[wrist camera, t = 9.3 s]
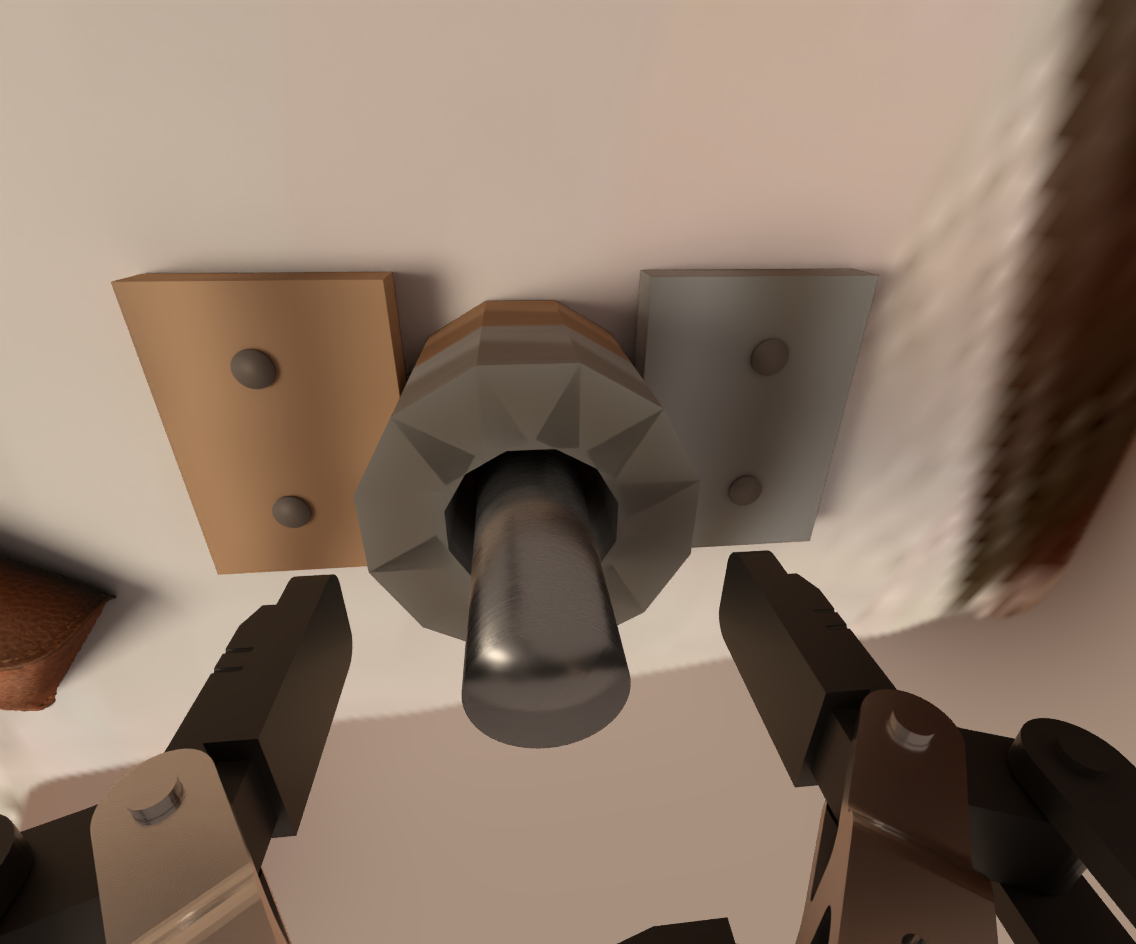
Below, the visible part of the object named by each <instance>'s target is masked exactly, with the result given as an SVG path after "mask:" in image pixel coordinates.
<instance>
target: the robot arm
mask: <svg viewBox="0 0 1136 944" xmlns="http://www.w3.org/2000/svg"><path fill="white" fill-rule="evenodd" d="M719 622H720V628H721V633H722V636H723V639H724V641H725V643H726V645H727V647H728V649H729V651H730V653H731V656H732V658H733V660H734V662H735V664H736V666H737V668H738V670H739V672H740V674H741V676H742V678H743V681H744V683H745V685H746V687H747V689H748V691H749V693H750V695H751V697H752V699H753V701H754V703H755V705H756V708H757V710H758V712H759V714H760V716H761V718H762V720H763V722H764V724H765V726H766V728H767V730H768V732H769V735H770V737H771V739H772V741H773V743H774V745H775V747H776V749H777V751H778V753H779V755H780V757H781V760H782V762H783V764H784V766H785V768H786V770H787V772H788V774H789V776H790V778H791V780H792V782H793V785H794V786H795V787H804V786H814V785H819V787H820V789H821V791H822V793H823V795H824V797H825V799H826V800H825V803H824V805H823V809H822V813H821V818H820V824H819V830H818V835H817V841H816V847H815V852H814V857H813V863H812V869H811V874H810V880H809V886H808V891H807V897H806V903H805V908H804V913H803V917H802V922H801V925H800V930H799V933H798V936H797V940H796V943H795V944H998V936H997V924H996V915H997V917H998V918H999V920H1000V921H1001V923H1002V924H1003V926H1004V928H1005V929H1006V931H1007V932H1008V934H1009V936H1010V937H1011V939H1012V940H1013V942H1014V944H1136V942H1135V941H1134V940H1133V939H1132V937H1131V936H1130V935H1129V934H1128V932H1127V931H1126V930H1125V929H1124V927H1123V926H1122V925H1121V923H1120V922H1119V921H1118V920H1117V918H1116V917H1115V916H1114V915H1113V913H1112V912H1111V911H1110V910H1109V908H1108V907H1107V906H1106V905H1105V903H1104V902H1103V901H1102V899H1101V898H1100V897H1099V896H1098V894H1097V893H1096V892H1095V891H1094V889H1093V888H1092V887H1091V886H1090V884H1089V883H1088V882H1087V880H1086V879H1085V878H1084V877H1083V875H1082V873H1083V872H1084V871H1085V870H1086V869H1088V870H1089V871H1090V872H1091V874H1092V875H1093V876H1094V877H1095V879H1096V880H1097V881H1098V882H1099V883H1100V885H1101V886H1102V887H1103V888H1104V890H1105V891H1106V892H1107V893H1108V895H1109V896H1110V897H1111V898H1112V900H1113V901H1114V902H1115V903H1116V905H1117V906H1118V907H1119V908H1120V910H1121V911H1122V912H1123V913H1124V915H1125V916H1126V917H1127V918H1128V919H1129V921H1130V922H1131V923H1132V924H1133V926H1134V927H1135V928H1136V768H1135V766H1134V765H1133V764H1131V763H1130V762H1129V761H1128V760H1127V759H1126V758H1125V757H1124V756H1123V755H1122V754H1121V753H1120V752H1119V751H1117V750H1116V749H1115V748H1114V747H1112V746H1111V745H1110V744H1108V743H1107V742H1105V741H1104V740H1102V739H1100V738H1099V737H1098V736H1096V735H1094V734H1092V733H1090V732H1089V731H1087V730H1085V729H1082V728H1080V727H1078V726H1075V725H1073V724H1070V723H1067V722H1064V721H1060V720H1056V719H1050V718H1038V719H1033V720H1030V721H1028V722H1026V723H1025V724H1024V725H1023V727H1022V728H1021V730H1020V732H1019V733H1018V735H1017V737H1016V739H1013V738H1008V737H1003V736H998V735H993V734H988V733H983V732H977V731H972V730H968V729H963V728H959V727H957V726H956V725H955V724H954V723H953V722H952V720H951V719H950V718H949V717H948V716H947V715H946V714H945V713H944V712H942V711H941V710H940V709H939V708H937V707H936V706H934V705H933V704H931V703H930V702H928V701H926V700H924V699H922V698H921V697H918V696H916V695H914V694H911V693H908V692H904V691H900V690H897V689H896V688H895V687H894V685H893V684H892V683H891V681H890V680H889V679H888V677H887V676H886V675H885V674H884V672H883V671H882V670H881V668H880V667H879V666H878V664H877V663H876V662H875V661H874V659H873V658H872V657H871V655H870V654H869V653H868V652H867V650H866V649H865V648H864V646H863V645H862V644H861V642H860V641H859V640H858V639H857V637H856V636H855V635H854V633H853V632H852V631H851V630H850V629H847V626H846V625H847V624H846V623H845V622H844V620H843V619H842V618H841V617H840V615H839V614H838V613H837V612H834V608H833V606H832V605H831V604H830V602H829V601H828V600H827V599H826V597H825V596H824V595H823V593H822V592H821V591H820V589H818V588H817V587H815V586H814V585H813V584H811V583H810V582H808V581H807V580H806V579H804V578H803V577H801V576H800V575H799V574H797V573H795V574H787V572H786V571H785V570H784V568H783V567H782V565H781V564H780V563H779V561H778V560H777V558H776V557H775V556H774V554H773V553H772V552H770V551H749V552H733V553H732V554H731V555H730V556H729V559H728V563H727V569H726V574H725V580H724V585H723V591H722V597H721V602H720V608H719ZM351 657H352V634H351V629H350V625H349V621H348V616H347V612H346V608H345V604H344V600H343V595H342V591H341V587H340V583H339V580H338V578H337V576H336V575H334V574H332V575H315V576H297V577H293V578H291V579H290V581H289V582H288V584H287V586H286V588H285V590H284V592H283V594H282V595H281V597H280V599H279V601H278V603H277V605H263V606H261V607H260V608H259V609H258V610H257V611H256V612H255V613H254V614H252V615H251V616H250V617H249V618H248V619H247V620H246V621H244V622H243V623H242V624H241V625H240V626H239V627H238V629H237V631H236V632H235V634H234V636H233V637H232V639H231V641H230V643H229V644H228V646H227V648H226V653H225V654H222V656H221V658H220V659H219V661H218V663H217V664H216V666H215V668H214V673H212V674H211V675H210V676H209V678H208V680H207V681H206V683H205V685H204V686H203V688H202V690H201V692H200V693H199V695H198V697H197V698H196V700H195V702H194V703H193V705H192V707H191V708H190V710H189V712H188V713H187V715H186V717H185V719H184V720H183V722H182V724H181V725H180V727H179V729H178V730H177V732H176V734H175V735H174V737H173V739H172V741H171V742H170V744H169V746H168V747H167V749H166V750H165V752H164V753H162V754H159V755H157V756H155V757H152V758H150V759H148V760H146V761H144V762H143V763H141V764H139V765H137V766H136V767H134V768H133V769H132V770H130V771H129V772H127V773H126V774H125V775H124V776H123V777H121V778H120V779H119V780H118V781H117V782H116V783H115V784H114V785H113V786H112V787H111V788H110V789H109V790H108V791H107V793H106V794H105V795H104V796H103V798H102V799H101V801H100V802H99V804H97V805H95V806H92V807H90V808H87V809H85V810H82V811H79V812H76V813H73V814H70V815H67V816H65V817H62V818H59V819H56V820H53V821H51V822H48V823H45V824H42V825H39V826H36V827H33V828H31V829H28V830H25V831H22V832H20V831H19V830H18V829H17V828H16V826H15V825H14V824H13V823H12V821H11V820H9V819H8V818H7V817H6V816H3V815H1V814H0V944H292V942H291V940H290V937H289V935H288V932H287V929H286V927H285V924H284V922H283V919H282V916H281V914H280V911H279V908H278V906H277V903H276V901H275V898H274V896H273V893H272V890H271V888H270V885H269V883H268V880H267V877H266V875H265V872H264V870H263V867H262V862H263V859H264V857H265V854H266V851H267V848H268V845H269V842H270V840H271V838H277V837H287V836H296V835H297V831H298V828H299V825H300V822H301V819H302V816H303V812H304V809H305V806H306V803H307V800H308V796H309V793H310V790H311V787H312V784H313V781H314V777H315V774H316V771H317V768H318V765H319V761H320V759H321V755H322V752H323V749H324V746H325V743H326V740H327V736H328V733H329V730H330V727H331V724H332V721H333V717H334V714H335V711H336V708H337V705H338V702H339V698H340V695H341V692H342V689H343V686H344V683H345V679H346V676H347V673H348V670H349V667H350V663H351ZM618 944H736V943H735V941H734V938H733V934H732V931H731V927H730V924H729V921H728V918H727V917H726V918H719V919H710V920H702V921H694V922H686V923H678V924H669V925H661V926H653V927H651V928H649V929H647V930H645V931H643V932H641V933H639V934H637V935H635V936H632V937H630V938H628V939H626V940H624V941H622V942H620V943H618Z"/></svg>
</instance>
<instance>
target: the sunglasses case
mask: <svg viewBox="0 0 1136 944" xmlns="http://www.w3.org/2000/svg"><path fill="white" fill-rule="evenodd" d="M114 598H116V596H115V597H109V596H106V595H103V594H102V593H101V592H100V591H99V590H98V589H96V588H94V587H91V586H89V585H86V584H84V583H81V582H79V581H76V580H72V579H68V578H65V577H61V576H58V575H56V574H53V573H51V572H49V571H46V570H43V569H39V568H36V567H33V566H30V565H26V564H23V563H19V562H16V561H12V560H9V559H6V558H4V557H1V556H0V709H2V710H15V711H17V710H20V711H39V710H43V709H45V708H47V707H48V706H49V705H51V704H52V703H54V702H55V700H56V699H55V695H56V694H57V692H56V691H57V687H58V686H59V684H60V682H61V681H62V679H63V677H64V676H65V674H66V673H67V671H68V670H69V667H70V666H71V663H72V662H73V661H74V659H75V657H76V655H77V653H78V652H79V651H80V649H81V646H82V644H83V643H84V642H85V639H86V638H87V636H88V634H89V633H90V632H91V629H92V627H93V626H94V625H95V622H96V619H97V618H98V617H99V616H100V614H101V612H102V609H103V607H104V605H105V603H106V602H108V601H109V600H111V599H114Z"/></svg>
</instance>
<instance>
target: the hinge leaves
mask: <svg viewBox="0 0 1136 944" xmlns="http://www.w3.org/2000/svg"><path fill="white" fill-rule="evenodd" d="M878 277H879V275H875V274H871V273H867V272H863V271H859V270H855V269H733V270H641V271H640V286H639V301H638V316H637V331H636V347H635V362H634V366H633V364H632V363H631V362H630V360H629V359H628V357H627V356H626V354H625V353H624V352H623V350H622V349H621V347H620V346H619V345H618V343H617V342H616V340H615V339H614V337H613V336H612V335H611V333H610V332H608V331H606V330H605V329H603V328H601V327H599V326H598V325H596V324H594V323H593V322H591V321H589V320H587V319H586V318H584V317H582V316H581V315H579V314H577V313H575V312H574V311H572V310H570V309H569V308H567V307H565V306H563V305H562V304H560V303H558V302H557V301H555V300H512V301H485V302H483V303H481V304H480V305H478V306H477V307H475V308H473V309H472V310H470V311H469V312H467V313H465V314H464V315H462V316H461V317H459V318H457V319H456V320H454V321H452V322H451V323H449V324H448V325H446V326H444V327H443V328H441V329H440V330H438V331H436V332H435V333H433V334H432V335H430V336H429V337H428V339H427V341H426V344H425V346H424V348H423V350H422V352H421V354H420V356H419V358H418V360H417V362H416V365H415V367H414V369H413V371H412V373H411V375H410V377H409V379H408V381H407V378H406V370H405V363H404V356H403V348H402V341H401V333H400V326H399V319H398V311H397V304H396V296H395V289H394V282H393V274H392V272H303V273H160V274H139V275H135V276H132V277H128V278H124V279H120V280H116V281H112V282H111V284H112V286H113V289H114V292H115V295H116V297H117V300H118V303H119V306H120V308H121V311H122V314H123V316H124V319H125V322H126V325H127V327H128V330H129V333H130V336H131V338H132V341H133V344H134V346H135V349H136V352H137V355H138V357H139V360H140V363H141V366H142V368H143V371H144V374H145V376H146V379H147V382H148V385H149V387H150V390H151V393H152V396H153V398H154V401H155V404H156V406H157V409H158V412H159V415H160V417H161V420H162V423H163V426H164V428H165V431H166V434H167V436H168V439H169V442H170V445H171V447H172V450H173V453H174V456H175V458H176V461H177V464H178V467H179V469H180V472H181V475H182V477H183V480H184V483H185V486H186V488H187V491H188V494H189V497H190V499H191V502H192V505H193V507H194V510H195V513H196V516H197V518H198V521H199V524H200V527H201V529H202V532H203V535H204V537H205V540H206V543H207V546H208V548H209V551H210V554H211V557H212V559H213V562H214V565H215V567H216V570H217V573H218V575H219V574H236V573H254V572H271V571H289V570H307V569H324V568H342V567H360V566H368V571H369V573H370V574H371V575H372V576H373V577H374V578H375V579H376V580H377V581H378V582H379V583H380V584H381V585H382V586H383V587H384V588H385V589H386V590H387V591H388V592H389V593H390V594H391V595H392V596H393V597H394V598H395V599H396V600H397V601H398V602H399V603H400V604H401V605H402V606H403V607H404V608H405V609H406V610H407V611H408V612H409V613H410V615H411V616H412V617H413V618H414V619H415V620H416V621H417V622H418V623H419V624H420V625H421V626H422V627H424V628H427V629H430V630H433V631H436V632H439V633H442V634H445V635H448V636H451V637H454V638H457V639H460V640H463V641H466V633H467V621H468V608H469V596H470V584H471V571H472V559H473V547H474V534H475V522H476V509H477V497H478V485H479V472H480V466H481V465H482V464H484V463H486V462H488V461H489V460H491V459H493V458H495V457H496V456H498V455H500V454H502V453H503V452H505V451H516V450H542V449H557V450H559V451H561V452H563V453H565V454H567V455H569V456H571V457H573V458H574V459H575V463H576V467H577V471H578V475H579V478H580V482H581V486H582V490H583V494H584V498H585V502H586V506H587V510H588V514H589V517H590V521H591V525H592V529H593V533H594V537H595V541H596V545H597V549H598V553H599V556H600V560H601V564H602V568H603V572H604V576H605V580H606V584H607V588H608V592H609V595H610V599H611V603H612V607H613V611H614V615H615V619H616V623H617V625H619V624H621V623H623V622H625V621H627V620H629V619H631V618H633V617H635V616H637V615H639V614H641V613H643V612H645V610H646V609H647V608H648V607H649V605H650V604H651V603H652V602H653V600H654V599H655V598H656V597H657V595H658V594H659V593H660V592H661V590H662V589H663V588H664V587H665V585H666V584H667V583H668V582H669V580H670V579H671V578H672V577H673V575H674V574H675V573H676V572H677V570H678V569H679V568H680V567H681V565H682V564H683V563H684V562H685V560H686V559H687V558H688V557H689V555H690V554H691V548H695V547H713V546H730V545H748V544H765V543H783V542H801V541H810V538H811V534H812V531H813V527H814V523H815V519H816V515H817V511H818V508H819V504H820V500H821V496H822V492H823V488H824V485H825V481H826V477H827V473H828V469H829V465H830V461H831V458H832V454H833V450H834V446H835V442H836V438H837V435H838V431H839V427H840V423H841V419H842V415H843V412H844V408H845V404H846V400H847V396H848V392H849V388H850V385H851V381H852V377H853V373H854V369H855V365H856V362H857V358H858V354H859V350H860V346H861V342H862V339H863V335H864V331H865V327H866V323H867V319H868V316H869V312H870V308H871V304H872V300H873V296H874V292H875V289H876V285H877V281H878Z"/></svg>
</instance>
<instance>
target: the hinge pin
mask: <svg viewBox="0 0 1136 944" xmlns="http://www.w3.org/2000/svg"><path fill="white" fill-rule="evenodd" d="M629 692H630V674H629V670H628V666H627V662H626V658H625V654H624V650H623V646H622V642H621V638H620V634H619V631H618V627H617V623H616V619H615V615H614V611H613V607H612V603H611V599H610V595H609V592H608V588H607V584H606V580H605V576H604V572H603V568H602V564H601V560H600V556H599V553H598V549H597V545H596V541H595V537H594V533H593V529H592V525H591V521H590V517H589V514H588V510H587V506H586V502H585V498H584V494H583V490H582V486H581V482H580V478H579V475H578V471H577V467H576V463H575V459H574V458H573V457H571V456H569V455H567V454H565V453H563V452H561V451H559V450H557V449H542V450H516V451H505V452H503V453H502V454H500V455H498V456H496V457H495V458H493V459H491V460H489V461H488V462H486V463H484V464H482V465H481V466H480V472H479V485H478V497H477V509H476V522H475V534H474V547H473V559H472V571H471V584H470V596H469V608H468V621H467V633H466V645H465V658H464V670H463V682H462V703H463V707H464V710H465V712H466V715H467V716H468V718H469V719H470V721H471V722H472V723H473V724H474V725H475V727H477V728H478V729H479V730H480V731H482V732H483V733H484V734H486V735H487V736H489V737H490V738H493V739H495V740H497V741H499V742H502V743H505V744H508V745H513V746H517V747H524V748H551V747H559V746H563V745H568V744H571V743H574V742H577V741H580V740H583V739H585V738H587V737H589V736H591V735H593V734H595V733H597V732H598V731H600V730H601V729H603V728H604V727H606V726H607V725H608V724H609V723H610V722H611V721H613V719H615V718H616V716H617V715H618V714H619V713H620V711H621V710H622V709H623V707H624V705H625V703H626V701H627V699H628V696H629Z"/></svg>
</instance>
